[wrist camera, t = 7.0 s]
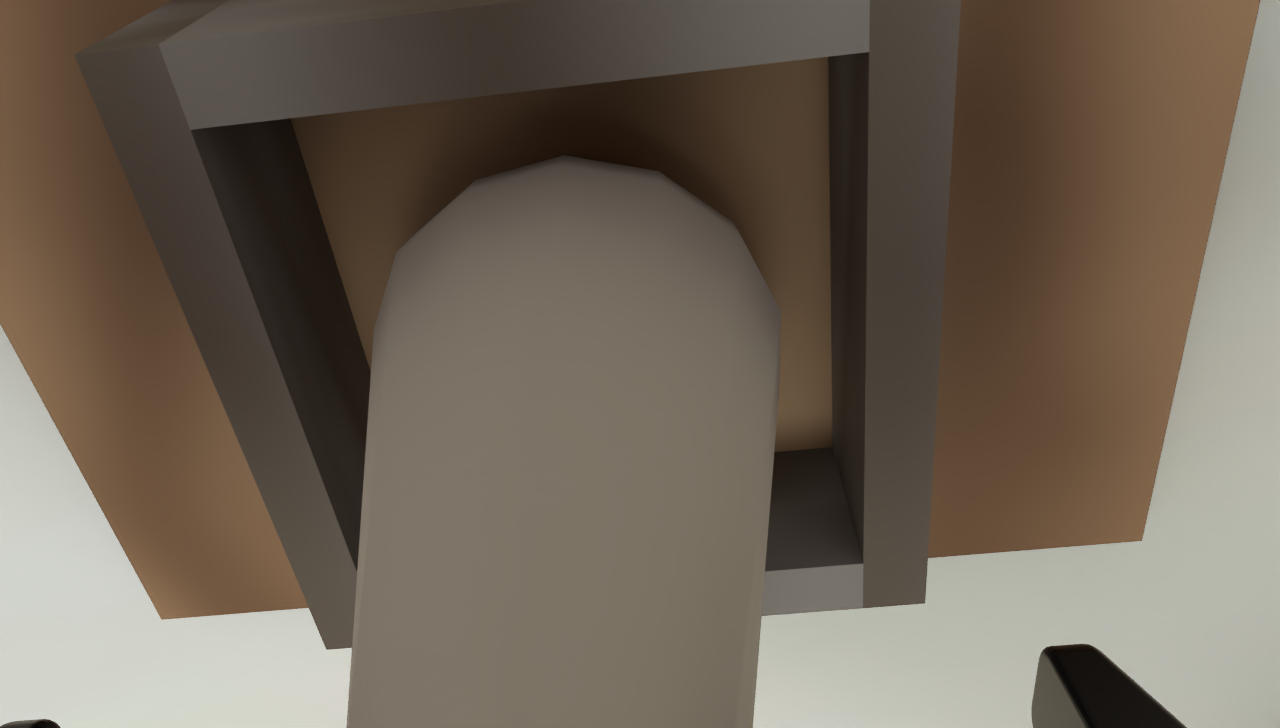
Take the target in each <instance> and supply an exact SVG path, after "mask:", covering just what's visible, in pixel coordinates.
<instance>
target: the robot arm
mask: <svg viewBox="0 0 1280 728" xmlns="http://www.w3.org/2000/svg"><path fill="white" fill-rule="evenodd" d="M1032 723H1033V728H1187V727H1185V726H1184V725H1183V724H1182V723H1181V722H1180V721H1179V720H1178V719H1176V718H1175V717H1174V716H1173V715H1172V714H1171V713H1170V712H1169V711H1167V710H1166V709H1165V708H1164V707H1163V706H1162V705H1161V704H1160V703H1158V702H1157V701H1156V700H1155V699H1154V698H1153V697H1152V696H1151V695H1149V694H1148V693H1147V692H1146V691H1145V690H1144V689H1143V688H1142V687H1140V686H1139V685H1138V684H1137V683H1136V682H1135V681H1134V680H1132V679H1131V678H1130V677H1129V676H1128V675H1127V674H1126V673H1125V672H1123V671H1122V670H1121V669H1120V668H1119V667H1118V666H1117V665H1116V664H1114V663H1113V662H1112V661H1111V660H1110V659H1109V658H1108V657H1107V656H1105V655H1104V654H1103V653H1102V652H1101V651H1100V650H1098V649H1097V648H1095V647H1093V646H1091V645H1087V644H1075V645H1062V646H1050V647H1046V648H1045V649H1044V650H1043V651H1042V653H1041V655H1040V658H1039V663H1038V669H1037V676H1036V682H1035V689H1034V695H1033V701H1032ZM0 728H60V727H59V725H58V724H57V723H55V722H53V721H51V720H47V719H40V720H27V721H15V722H10V723H7V724H4V725H2V726H0Z"/></svg>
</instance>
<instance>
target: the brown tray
mask: <svg viewBox="0 0 1280 728" xmlns="http://www.w3.org/2000/svg"><path fill="white" fill-rule="evenodd" d="M1259 4H1260V0H0V324H1V326H2V328H3V330H4V331H5V333H6V335H7V337H8V339H9V341H10V342H11V344H12V346H13V348H14V350H15V352H16V353H17V355H18V357H19V359H20V361H21V363H22V364H23V366H24V368H25V370H26V372H27V374H28V375H29V377H30V379H31V381H32V383H33V385H34V386H35V388H36V390H37V392H38V394H39V396H40V397H41V399H42V401H43V403H44V405H45V407H46V408H47V410H48V412H49V414H50V416H51V418H52V419H53V421H54V423H55V425H56V427H57V429H58V430H59V432H60V434H61V436H62V438H63V440H64V441H65V443H66V445H67V447H68V449H69V451H70V452H71V454H72V456H73V458H74V460H75V462H76V463H77V465H78V467H79V469H80V471H81V473H82V474H83V476H84V478H85V480H86V482H87V484H88V485H89V487H90V489H91V491H92V493H93V495H94V496H95V498H96V500H97V502H98V504H99V506H100V507H101V509H102V511H103V513H104V515H105V517H106V518H107V520H108V522H109V524H110V526H111V528H112V529H113V531H114V533H115V535H116V537H117V539H118V540H119V542H120V544H121V546H122V548H123V550H124V551H125V553H126V555H127V557H128V559H129V561H130V562H131V564H132V566H133V568H134V570H135V572H136V573H137V575H138V577H139V579H140V581H141V583H142V584H143V586H144V588H145V590H146V592H147V594H148V595H149V597H150V599H151V601H152V603H153V605H154V606H155V608H156V610H157V612H158V614H159V616H160V617H161V619H174V618H186V617H199V616H211V615H223V614H236V613H248V612H261V611H273V610H286V609H298V608H309V609H310V612H311V614H312V616H313V619H314V621H315V623H316V626H317V628H318V630H319V633H320V635H321V638H322V640H323V642H324V645H325V647H326V649H340V648H352V642H353V627H354V613H355V598H356V583H357V569H358V554H359V540H360V525H361V510H362V496H363V481H364V466H365V452H366V437H367V422H368V408H369V393H370V379H371V364H372V349H373V335H374V327H375V324H376V320H377V317H378V313H379V310H380V307H381V303H382V300H383V296H384V293H385V289H386V286H387V283H388V279H389V276H390V272H391V269H392V266H393V262H394V259H395V255H396V252H397V251H398V250H399V249H400V248H401V247H402V246H403V245H404V244H405V243H406V242H407V241H408V240H409V238H410V237H412V236H413V235H414V234H415V233H416V232H417V231H418V230H419V229H421V228H422V227H423V226H424V225H425V224H426V223H427V222H429V221H430V220H431V219H432V218H433V217H434V216H435V215H436V214H438V213H439V212H440V211H441V210H442V209H443V208H444V207H445V206H447V205H448V204H449V203H450V202H451V201H452V200H453V199H455V198H456V197H457V196H458V195H459V194H460V193H461V192H462V191H464V190H465V189H466V188H467V187H468V186H469V185H470V184H471V183H473V182H474V181H475V180H478V179H481V178H485V177H488V176H492V175H495V174H499V173H502V172H506V171H510V170H513V169H517V168H520V167H524V166H527V165H531V164H534V163H538V162H542V161H545V160H549V159H552V158H556V157H559V156H563V155H566V156H573V157H579V158H583V159H589V160H595V161H601V162H607V163H613V164H619V165H625V166H631V167H637V168H643V169H648V170H654V171H659V172H661V173H662V174H664V175H665V176H667V177H668V178H670V179H671V180H673V181H674V182H675V183H677V184H678V185H680V186H681V187H683V188H684V189H686V190H687V191H689V192H690V193H691V194H693V195H694V196H696V197H697V198H699V199H700V200H702V201H703V202H705V203H706V204H707V205H709V206H710V207H712V208H713V209H715V210H716V211H718V212H719V213H721V214H722V215H724V216H725V217H726V218H728V219H729V220H731V221H732V222H734V224H735V226H736V228H737V230H738V231H739V233H740V235H741V237H742V239H743V241H744V243H745V244H746V246H747V248H748V250H749V252H750V254H751V256H752V258H753V259H754V261H755V263H756V265H757V267H758V269H759V271H760V273H761V275H762V276H763V278H764V280H765V282H766V284H767V286H768V288H769V290H770V291H771V293H772V295H773V297H774V299H775V301H776V303H777V305H778V306H779V308H780V310H781V339H780V379H779V399H778V412H777V425H776V437H775V450H774V462H773V475H772V488H771V500H770V513H769V526H768V538H767V551H766V564H765V576H764V589H763V602H762V614H761V616H767V615H780V614H793V613H806V612H819V611H832V610H845V609H858V608H871V607H883V606H896V605H909V604H922V603H925V594H926V577H927V561H928V558H933V557H945V556H958V555H970V554H983V553H995V552H1008V551H1020V550H1033V549H1045V548H1057V547H1070V546H1082V545H1095V544H1107V543H1120V542H1132V541H1142V538H1143V533H1144V528H1145V524H1146V519H1147V515H1148V510H1149V506H1150V501H1151V497H1152V492H1153V487H1154V483H1155V478H1156V474H1157V469H1158V465H1159V460H1160V455H1161V451H1162V446H1163V442H1164V437H1165V433H1166V428H1167V424H1168V419H1169V414H1170V410H1171V405H1172V401H1173V396H1174V392H1175V387H1176V382H1177V378H1178V373H1179V369H1180V364H1181V360H1182V355H1183V351H1184V346H1185V341H1186V337H1187V332H1188V328H1189V323H1190V319H1191V314H1192V309H1193V305H1194V300H1195V296H1196V291H1197V287H1198V282H1199V278H1200V273H1201V268H1202V264H1203V259H1204V255H1205V250H1206V246H1207V241H1208V237H1209V232H1210V227H1211V223H1212V218H1213V214H1214V209H1215V205H1216V200H1217V195H1218V191H1219V186H1220V182H1221V177H1222V173H1223V168H1224V164H1225V159H1226V154H1227V150H1228V145H1229V141H1230V136H1231V132H1232V127H1233V122H1234V118H1235V113H1236V109H1237V104H1238V100H1239V95H1240V91H1241V86H1242V81H1243V77H1244V72H1245V68H1246V63H1247V59H1248V54H1249V49H1250V45H1251V40H1252V36H1253V31H1254V27H1255V22H1256V18H1257V13H1258V8H1259Z"/></svg>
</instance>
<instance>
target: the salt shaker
mask: <svg viewBox="0 0 1280 728" xmlns="http://www.w3.org/2000/svg"><path fill="white" fill-rule="evenodd" d="M780 339H781V310H780V308H779V306H778V305H777V303H776V301H775V299H774V297H773V295H772V293H771V291H770V290H769V288H768V286H767V284H766V282H765V280H764V278H763V276H762V275H761V273H760V271H759V269H758V267H757V265H756V263H755V261H754V259H753V258H752V256H751V254H750V252H749V250H748V248H747V246H746V244H745V243H744V241H743V239H742V237H741V235H740V233H739V231H738V230H737V228H736V226H735V224H734V222H732V221H731V220H729V219H728V218H726V217H725V216H724V215H722V214H721V213H719V212H718V211H716V210H715V209H713V208H712V207H710V206H709V205H707V204H706V203H705V202H703V201H702V200H700V199H699V198H697V197H696V196H694V195H693V194H691V193H690V192H689V191H687V190H686V189H684V188H683V187H681V186H680V185H678V184H677V183H675V182H674V181H673V180H671V179H670V178H668V177H667V176H665V175H664V174H662V173H661V172H659V171H654V170H648V169H643V168H637V167H631V166H625V165H619V164H613V163H607V162H601V161H595V160H589V159H583V158H579V157H573V156H566V155H563V156H559V157H556V158H552V159H549V160H545V161H542V162H538V163H534V164H531V165H527V166H524V167H520V168H517V169H513V170H510V171H506V172H502V173H499V174H495V175H492V176H488V177H485V178H481V179H478V180H475V181H474V182H473V183H471V184H470V185H469V186H468V187H467V188H466V189H465V190H464V191H462V192H461V193H460V194H459V195H458V196H457V197H456V198H455V199H453V200H452V201H451V202H450V203H449V204H448V205H447V206H445V207H444V208H443V209H442V210H441V211H440V212H439V213H438V214H436V215H435V216H434V217H433V218H432V219H431V220H430V221H429V222H427V223H426V224H425V225H424V226H423V227H422V228H421V229H419V230H418V231H417V232H416V233H415V234H414V235H413V236H412V237H410V238H409V240H408V241H407V242H406V243H405V244H404V245H403V246H402V247H401V248H400V249H399V250H398V251H397V252H396V255H395V259H394V262H393V266H392V269H391V272H390V276H389V279H388V283H387V286H386V289H385V293H384V296H383V300H382V303H381V307H380V310H379V313H378V317H377V320H376V324H375V327H374V335H373V349H372V364H371V379H370V393H369V408H368V422H367V437H366V452H365V466H364V481H363V496H362V510H361V525H360V540H359V554H358V569H357V583H356V598H355V613H354V627H353V642H352V657H351V671H350V686H349V701H348V715H347V728H753V716H754V703H755V690H756V678H757V665H758V652H759V640H760V627H761V614H762V602H763V589H764V576H765V564H766V551H767V538H768V526H769V513H770V500H771V488H772V475H773V462H774V450H775V437H776V425H777V412H778V399H779V379H780Z"/></svg>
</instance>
